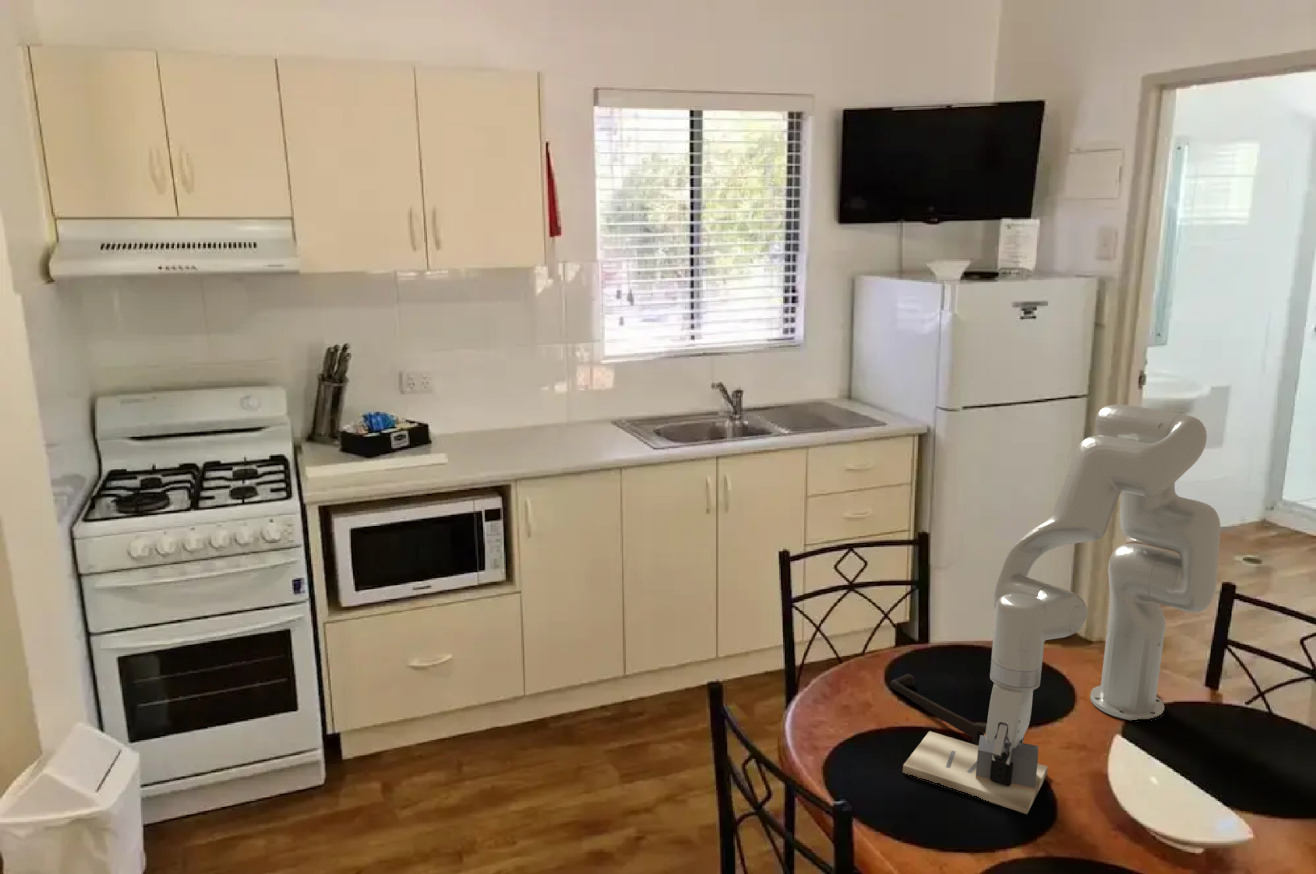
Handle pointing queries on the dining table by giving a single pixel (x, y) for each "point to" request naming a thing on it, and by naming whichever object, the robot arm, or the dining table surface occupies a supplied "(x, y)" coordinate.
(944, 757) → the board
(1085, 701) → the dining table surface
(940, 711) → the wrench
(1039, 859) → the dining table surface
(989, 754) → the block
